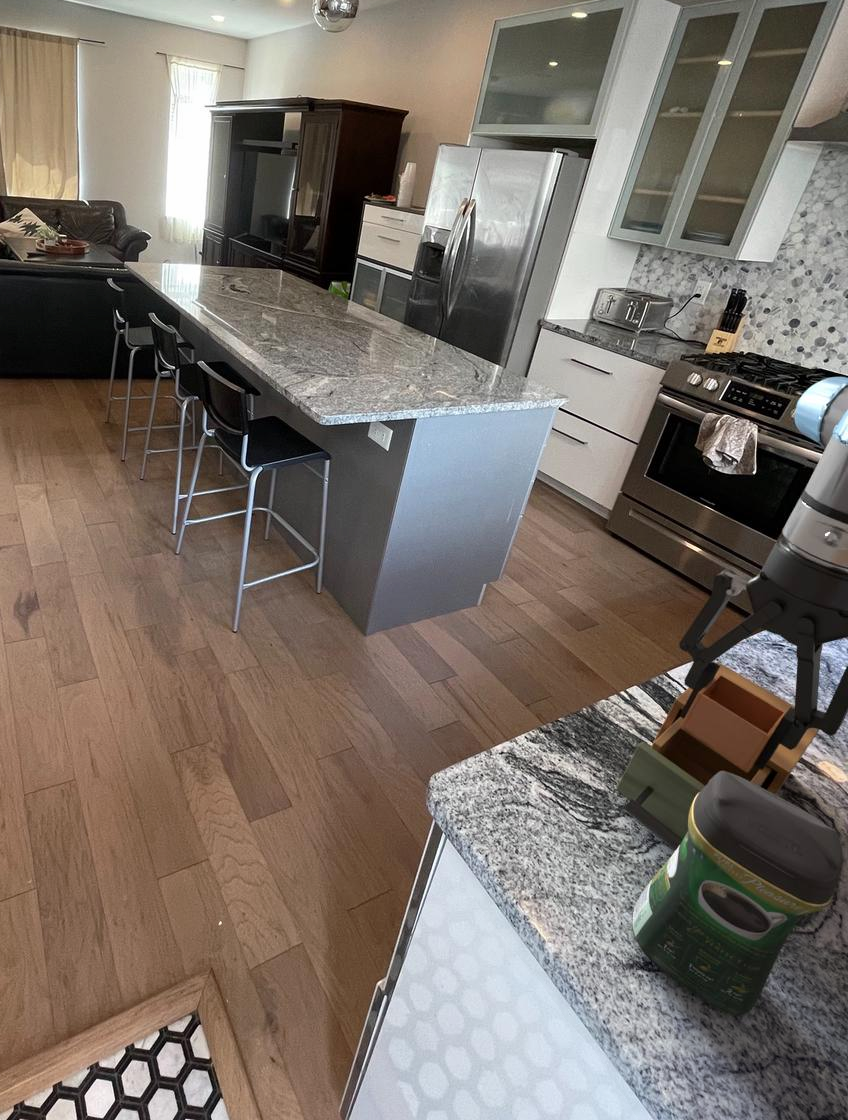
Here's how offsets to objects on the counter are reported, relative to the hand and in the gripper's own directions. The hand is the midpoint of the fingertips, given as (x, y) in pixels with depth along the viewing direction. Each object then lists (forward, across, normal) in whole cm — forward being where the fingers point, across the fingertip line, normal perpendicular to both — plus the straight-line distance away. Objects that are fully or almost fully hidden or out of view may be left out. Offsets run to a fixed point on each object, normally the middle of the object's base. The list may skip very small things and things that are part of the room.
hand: (723, 736), depth 67 cm
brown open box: (0, 0, 0) cm, 0 cm away
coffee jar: (+11, +7, -17) cm, 21 cm away
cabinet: (+11, 0, +11) cm, 16 cm away
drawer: (+10, 0, -2) cm, 10 cm away
